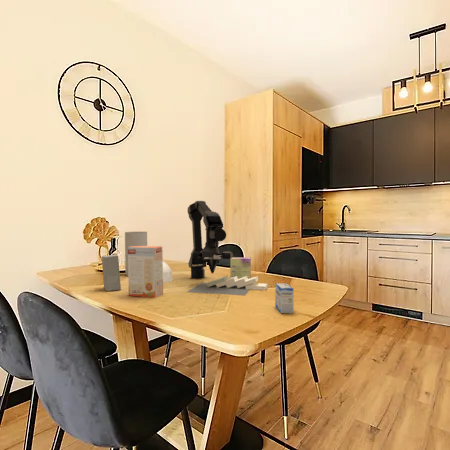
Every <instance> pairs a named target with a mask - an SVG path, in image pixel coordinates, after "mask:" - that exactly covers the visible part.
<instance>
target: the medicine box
mask: <svg viewBox="0 0 450 450" xmlns="http://www.w3.org/2000/svg"><path fill="white" fill-rule="evenodd" d="M274 291H275V292H274V293H275V296H274V297H275V299H274V300H275V302H274V303H275V306H274V307H275V308H276V309H277V310H278V312H279V313H280V314H281V313H289V314H294V305H295V303H294V301H295V300H294V293H295V292H294V288H293V287H292V286H291V285H289V284H288V283H285V282H284V283H282V282H281V283H280V282H279V283H275V290H274Z"/></svg>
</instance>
